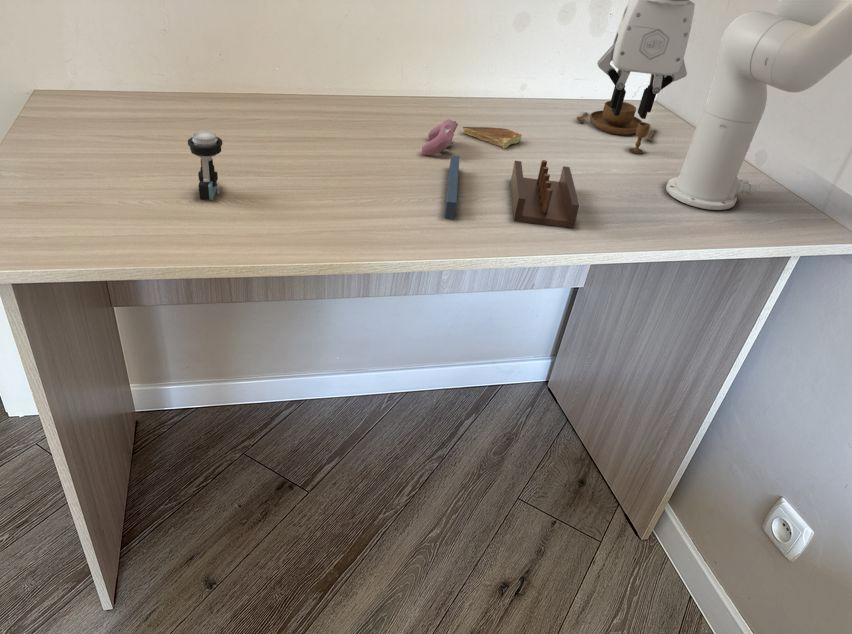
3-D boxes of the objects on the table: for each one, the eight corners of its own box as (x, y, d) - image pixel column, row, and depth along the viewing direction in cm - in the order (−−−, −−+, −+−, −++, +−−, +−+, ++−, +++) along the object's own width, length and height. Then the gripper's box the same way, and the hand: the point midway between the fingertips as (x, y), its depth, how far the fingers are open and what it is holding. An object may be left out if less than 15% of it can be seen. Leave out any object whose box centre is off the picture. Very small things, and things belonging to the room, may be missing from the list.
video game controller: (438, 166, 135) (458, 137, 130) (418, 152, 134) (438, 123, 130) (444, 148, 142) (464, 120, 138) (426, 135, 142) (445, 107, 137)
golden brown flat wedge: (461, 133, 146) (462, 125, 145) (482, 125, 150) (483, 117, 149) (503, 149, 140) (504, 141, 139) (523, 141, 145) (525, 132, 144)
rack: (564, 188, 127) (571, 160, 124) (573, 228, 115) (581, 198, 111) (510, 182, 128) (516, 153, 124) (513, 221, 115) (520, 190, 112)
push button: (197, 182, 117) (191, 125, 111) (229, 184, 117) (225, 127, 111) (190, 200, 112) (184, 140, 106) (223, 201, 112) (219, 142, 106)
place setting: (658, 128, 158) (666, 102, 155) (644, 155, 144) (653, 128, 140) (583, 111, 164) (590, 86, 160) (562, 136, 149) (569, 109, 145)
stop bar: (457, 171, 130) (459, 156, 128) (454, 219, 114) (456, 202, 112) (448, 170, 130) (451, 155, 128) (444, 218, 114) (446, 201, 112)
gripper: (612, -14, 96) (579, 116, 108) (730, -1, 96) (685, 128, 107) (604, -23, 102) (574, 101, 114) (716, -11, 102) (674, 112, 113)
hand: (628, 113), depth 110 cm, fingers open, 3 cm apart
